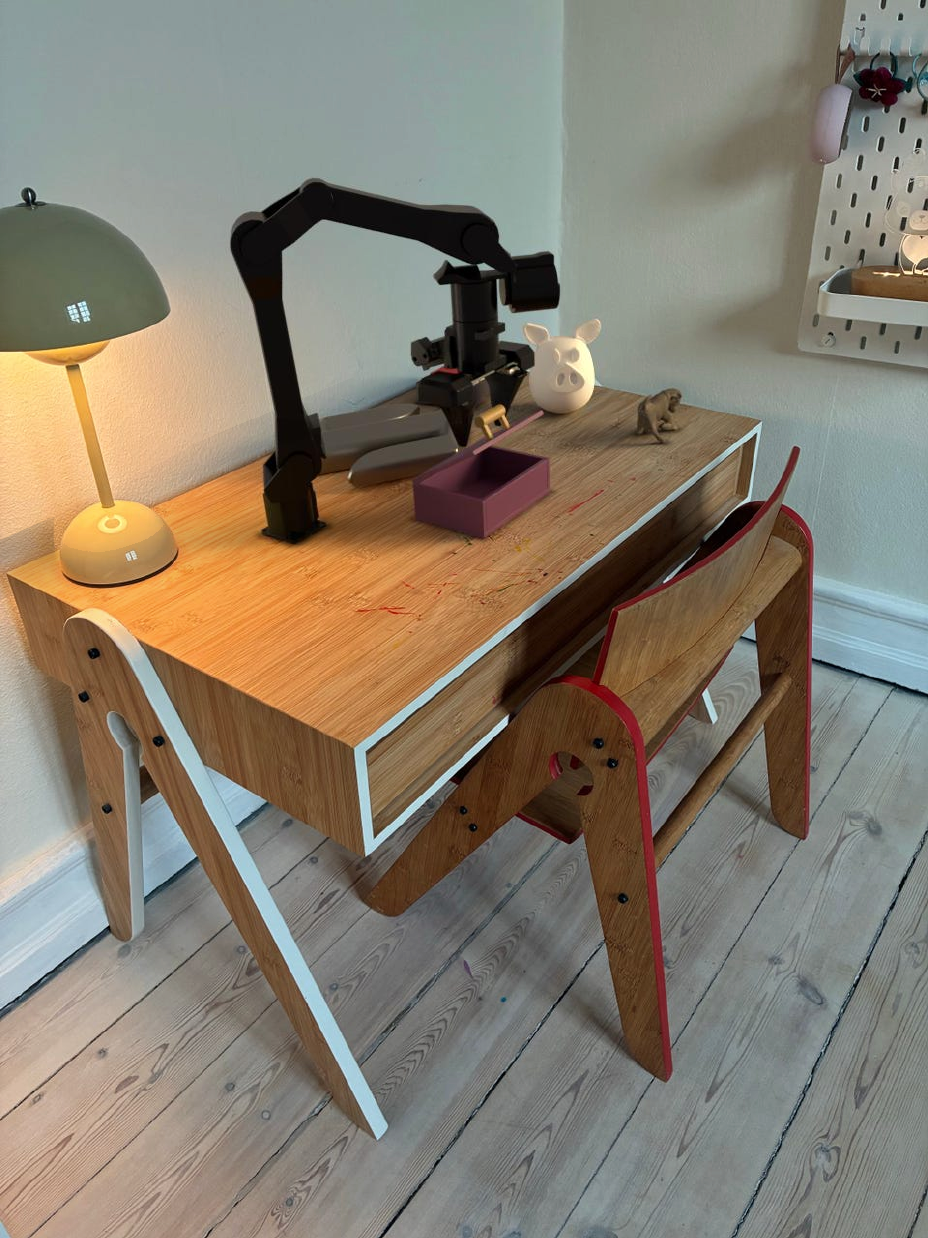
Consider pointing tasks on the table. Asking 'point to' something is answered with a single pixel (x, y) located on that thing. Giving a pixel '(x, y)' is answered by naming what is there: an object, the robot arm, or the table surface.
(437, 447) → the emblem
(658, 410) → the brown monkey figurine
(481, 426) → the file box lid
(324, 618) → the table surface
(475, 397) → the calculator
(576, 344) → the piggy bank
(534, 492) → the maroon open box
